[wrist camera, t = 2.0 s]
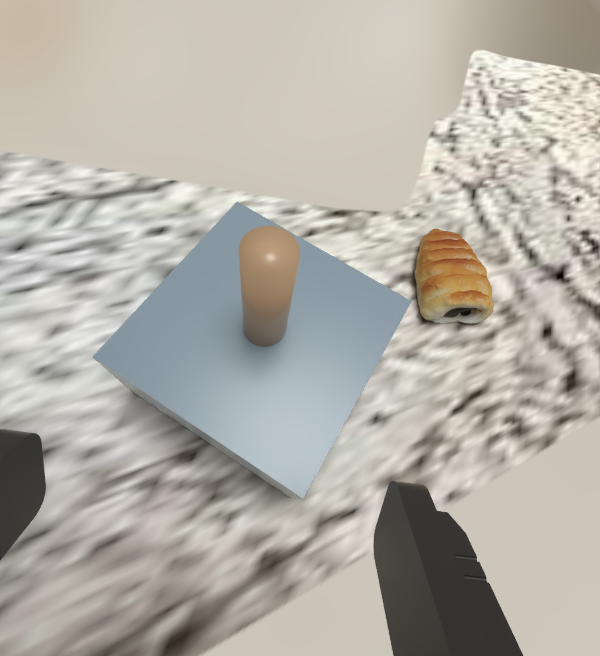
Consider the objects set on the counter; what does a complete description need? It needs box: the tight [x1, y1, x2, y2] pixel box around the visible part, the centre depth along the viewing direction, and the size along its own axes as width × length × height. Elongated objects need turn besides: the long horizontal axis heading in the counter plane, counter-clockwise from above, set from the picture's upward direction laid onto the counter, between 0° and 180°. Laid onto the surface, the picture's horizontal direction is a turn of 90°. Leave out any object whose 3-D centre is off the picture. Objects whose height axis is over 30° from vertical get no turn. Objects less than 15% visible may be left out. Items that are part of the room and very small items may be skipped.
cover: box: [93, 202, 411, 499], centre depth 23 cm, size 14×14×16 cm
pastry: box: [414, 229, 494, 324], centre depth 34 cm, size 9×7×4 cm
